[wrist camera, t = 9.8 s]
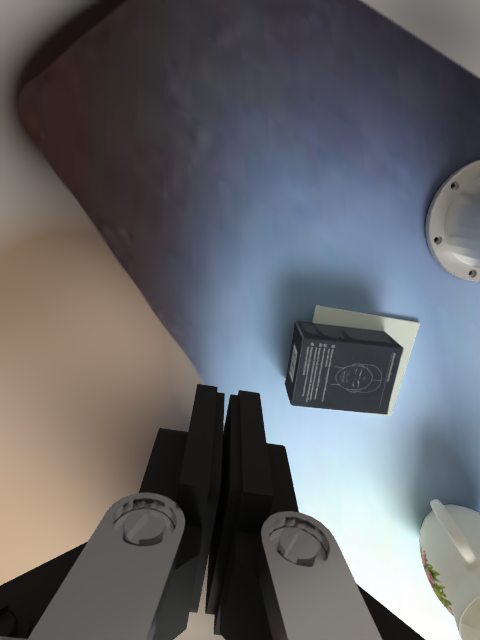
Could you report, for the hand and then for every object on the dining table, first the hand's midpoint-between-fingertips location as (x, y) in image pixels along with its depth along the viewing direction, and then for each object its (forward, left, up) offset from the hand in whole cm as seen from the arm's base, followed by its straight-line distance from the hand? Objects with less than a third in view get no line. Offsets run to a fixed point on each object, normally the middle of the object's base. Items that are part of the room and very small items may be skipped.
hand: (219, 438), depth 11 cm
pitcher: (+30, +34, -35) cm, 57 cm away
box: (+10, +8, -32) cm, 34 cm away
